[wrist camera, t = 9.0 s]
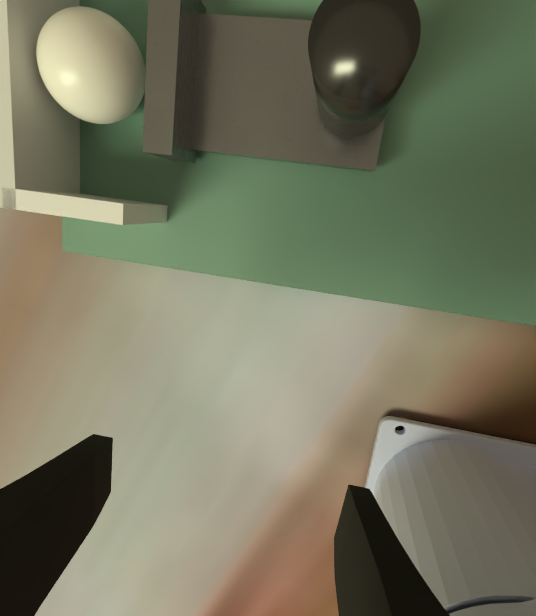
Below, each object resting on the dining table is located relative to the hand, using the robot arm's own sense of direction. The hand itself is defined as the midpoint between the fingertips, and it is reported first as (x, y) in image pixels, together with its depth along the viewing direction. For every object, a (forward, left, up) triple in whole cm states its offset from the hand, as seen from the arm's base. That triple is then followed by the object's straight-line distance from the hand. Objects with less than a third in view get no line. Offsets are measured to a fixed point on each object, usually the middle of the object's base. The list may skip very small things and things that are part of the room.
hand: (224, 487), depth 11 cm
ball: (+9, -13, -6) cm, 17 cm away
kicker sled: (+1, -13, -8) cm, 15 cm away
